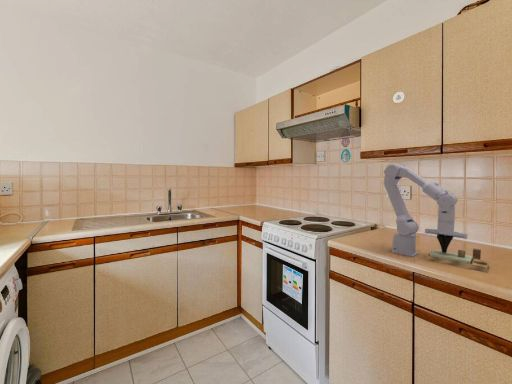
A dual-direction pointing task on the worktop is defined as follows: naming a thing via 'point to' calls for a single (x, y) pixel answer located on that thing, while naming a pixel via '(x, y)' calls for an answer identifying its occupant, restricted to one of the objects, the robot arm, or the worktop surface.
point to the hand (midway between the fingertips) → (444, 252)
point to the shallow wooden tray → (462, 263)
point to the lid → (452, 256)
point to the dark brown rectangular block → (476, 254)
